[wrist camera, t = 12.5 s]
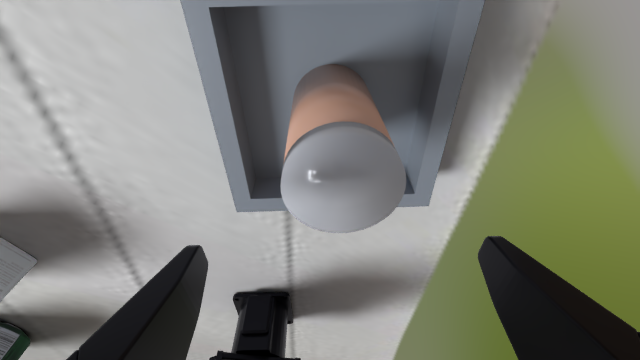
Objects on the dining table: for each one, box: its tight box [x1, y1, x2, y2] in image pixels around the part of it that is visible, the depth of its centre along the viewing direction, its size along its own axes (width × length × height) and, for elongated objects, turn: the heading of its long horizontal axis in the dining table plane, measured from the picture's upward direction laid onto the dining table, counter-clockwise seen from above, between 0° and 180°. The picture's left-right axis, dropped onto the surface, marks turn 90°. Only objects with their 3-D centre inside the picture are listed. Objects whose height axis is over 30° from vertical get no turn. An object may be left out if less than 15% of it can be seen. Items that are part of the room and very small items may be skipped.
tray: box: [180, 0, 485, 212], centre depth 18 cm, size 14×14×4 cm
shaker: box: [280, 64, 406, 233], centre depth 15 cm, size 5×5×9 cm
